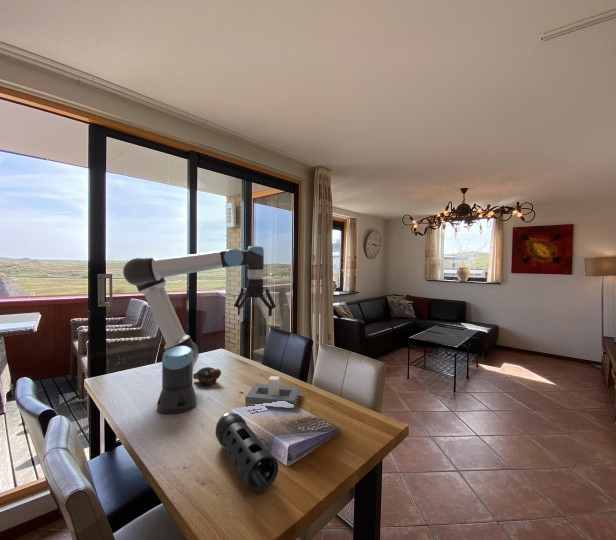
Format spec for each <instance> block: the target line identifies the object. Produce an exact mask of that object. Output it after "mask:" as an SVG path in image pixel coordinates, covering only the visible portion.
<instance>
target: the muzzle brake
mask: <svg viewBox="0 0 616 540" xmlns="http://www.w3.org/2000/svg"><path fill="white" fill-rule="evenodd" d="M215 438H216V439H217V441H218V443H220V446H222V447H223V448H224V450H225V452H226V453H227V455H228V456H229V459H230V460H231V461H232V463H233V465H234V466H235V468H236V470H237V471H238V473H239V474H240V476H241V477H242V480H243V481H244V483H245V484H246V486H247V488H248V489H249V490H250V491H251V492H253V493H259V494H262V493H264V492H265V490H267V489H268V488H269V487H271V486H272V484H273V483H274V482H275V480H276V478H277V476H278V472H279V463H278V460H277V459H276V458H275V457H274V455H273V454H272V452H270V450H268V448H267V447H266V445H264V443H263V442H262V441H261V439H260V438H258V436H257V435H256V433H254V432H253V430H252V428H250V427H249V426H248V424H247V422H246V421H245V419H244V418H243V417H242V416H241V415H240V414H238V413H234V412H227V413H225V414H223V415H222V416H221V417H219V419H218V420H217V422H216V426H215Z"/></svg>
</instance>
